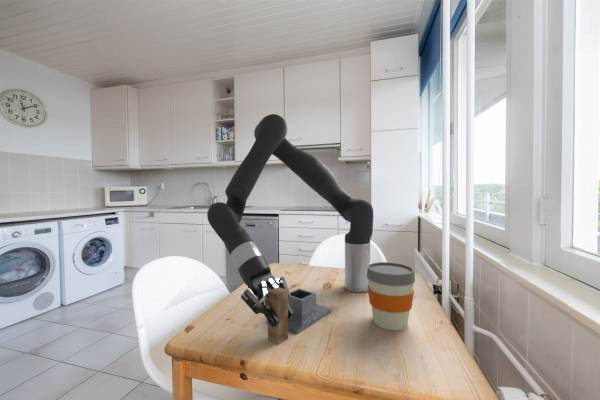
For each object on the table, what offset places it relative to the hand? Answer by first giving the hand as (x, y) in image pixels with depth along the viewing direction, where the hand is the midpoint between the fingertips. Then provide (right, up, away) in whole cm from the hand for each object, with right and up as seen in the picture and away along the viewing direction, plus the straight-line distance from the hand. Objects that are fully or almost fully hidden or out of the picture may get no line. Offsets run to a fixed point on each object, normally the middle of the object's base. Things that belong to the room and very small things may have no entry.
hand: (283, 320), depth 64 cm
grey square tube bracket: (+4, -5, +13) cm, 15 cm away
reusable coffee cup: (+29, -5, +9) cm, 31 cm away
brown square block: (-1, -5, +1) cm, 6 cm away
